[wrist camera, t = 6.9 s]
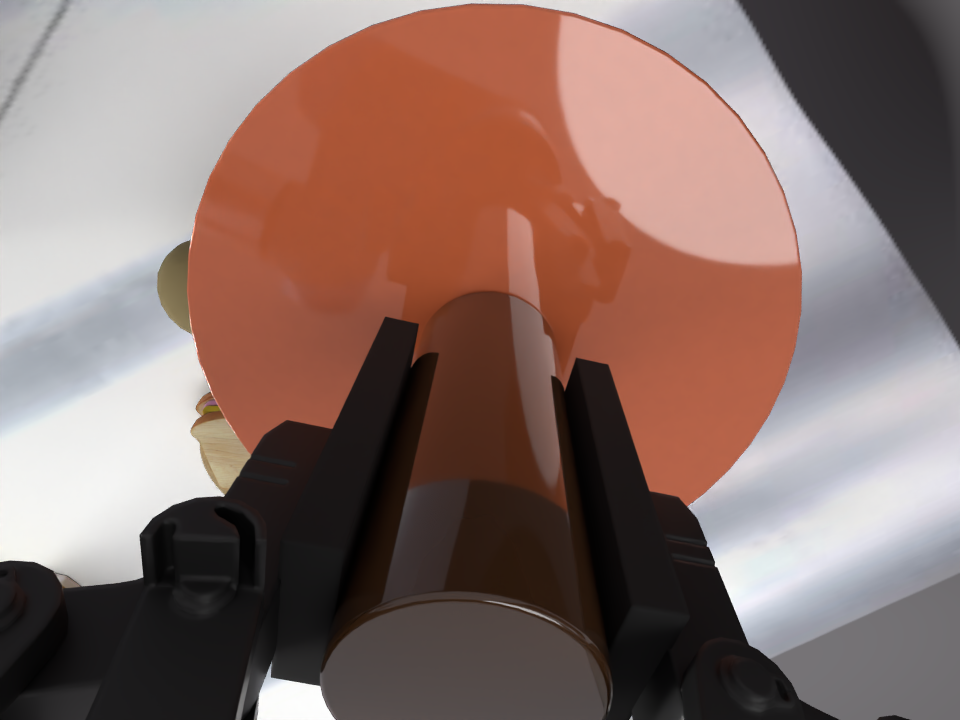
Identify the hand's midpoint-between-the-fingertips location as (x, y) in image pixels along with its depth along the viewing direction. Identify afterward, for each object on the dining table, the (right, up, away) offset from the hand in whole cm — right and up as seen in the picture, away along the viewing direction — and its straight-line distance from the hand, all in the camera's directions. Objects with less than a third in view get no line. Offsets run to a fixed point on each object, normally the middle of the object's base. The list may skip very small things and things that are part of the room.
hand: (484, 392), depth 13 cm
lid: (0, +1, +2) cm, 2 cm away
